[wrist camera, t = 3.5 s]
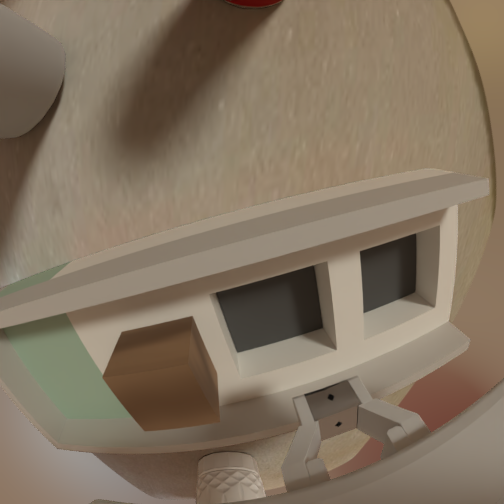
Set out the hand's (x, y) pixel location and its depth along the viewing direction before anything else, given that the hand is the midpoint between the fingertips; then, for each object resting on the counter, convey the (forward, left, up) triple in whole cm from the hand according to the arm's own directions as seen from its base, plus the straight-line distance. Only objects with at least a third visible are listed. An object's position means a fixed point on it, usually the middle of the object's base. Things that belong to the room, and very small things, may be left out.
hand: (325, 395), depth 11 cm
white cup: (+20, -10, -9) cm, 24 cm away
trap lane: (0, -5, -8) cm, 10 cm away
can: (-20, -13, -9) cm, 25 cm away
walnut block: (0, -8, -5) cm, 9 cm away
